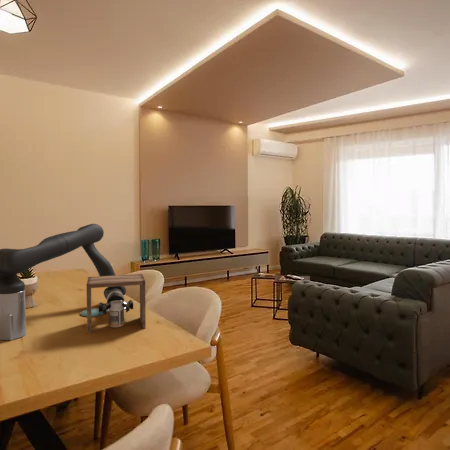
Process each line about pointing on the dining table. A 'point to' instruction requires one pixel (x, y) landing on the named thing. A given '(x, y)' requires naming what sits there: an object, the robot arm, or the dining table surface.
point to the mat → (94, 312)
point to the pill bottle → (116, 314)
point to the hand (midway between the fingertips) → (116, 310)
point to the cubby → (112, 282)
